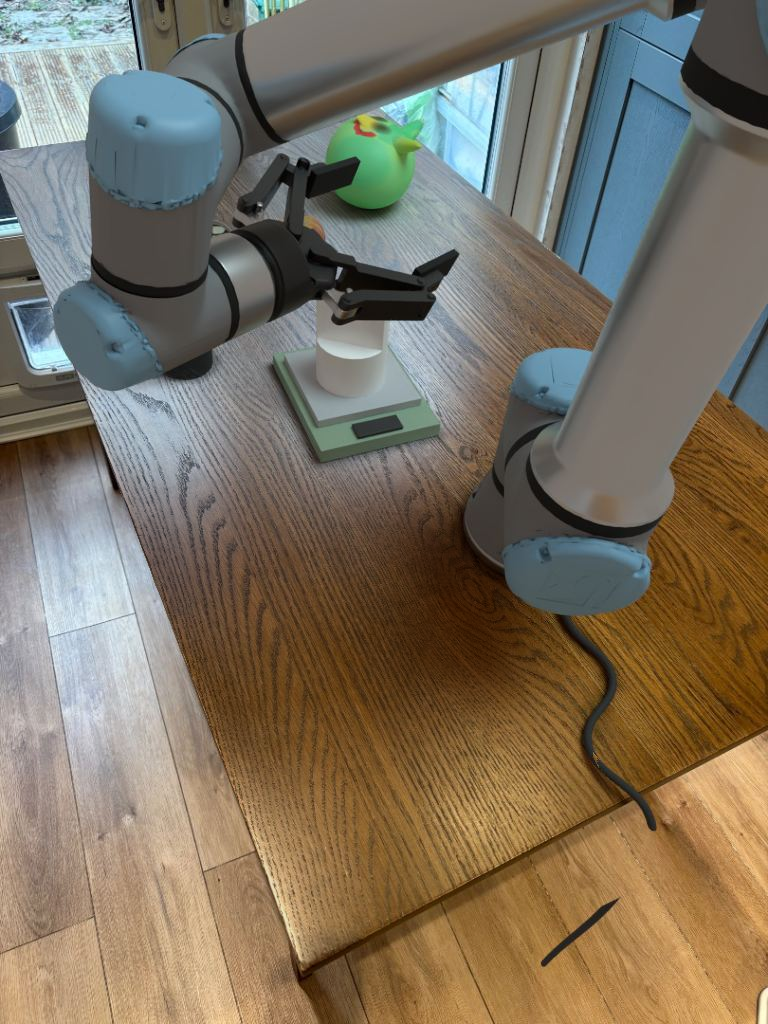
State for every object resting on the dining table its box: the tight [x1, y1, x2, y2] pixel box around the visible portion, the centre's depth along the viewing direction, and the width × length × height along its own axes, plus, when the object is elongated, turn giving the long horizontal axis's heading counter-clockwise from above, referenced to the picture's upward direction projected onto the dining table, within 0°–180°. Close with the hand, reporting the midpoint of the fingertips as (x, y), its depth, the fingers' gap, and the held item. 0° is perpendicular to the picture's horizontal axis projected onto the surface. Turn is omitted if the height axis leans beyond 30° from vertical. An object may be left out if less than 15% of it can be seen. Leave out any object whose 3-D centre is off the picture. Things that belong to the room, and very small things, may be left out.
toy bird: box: [324, 113, 425, 210], centre depth 131 cm, size 18×17×15 cm
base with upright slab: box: [315, 300, 391, 398], centre depth 93 cm, size 9×9×12 cm
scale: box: [272, 344, 441, 464], centre depth 99 cm, size 20×16×3 cm
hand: (401, 215), depth 73 cm, fingers open, 13 cm apart
